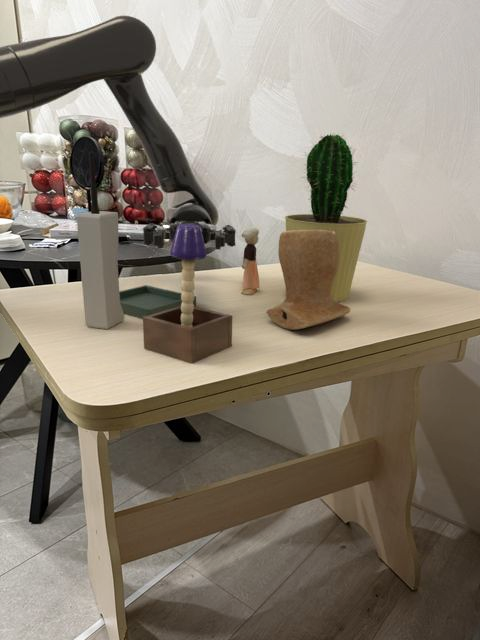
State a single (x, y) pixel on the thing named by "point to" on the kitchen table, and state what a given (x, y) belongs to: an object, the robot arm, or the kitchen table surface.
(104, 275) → the utensil holder
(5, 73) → the robot arm
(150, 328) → the brown wooden box
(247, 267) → the grandmother figurine
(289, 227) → the potted cactus
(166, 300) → the tray
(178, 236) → the toy lamp
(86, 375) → the kitchen table surface
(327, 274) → the brown flared block
